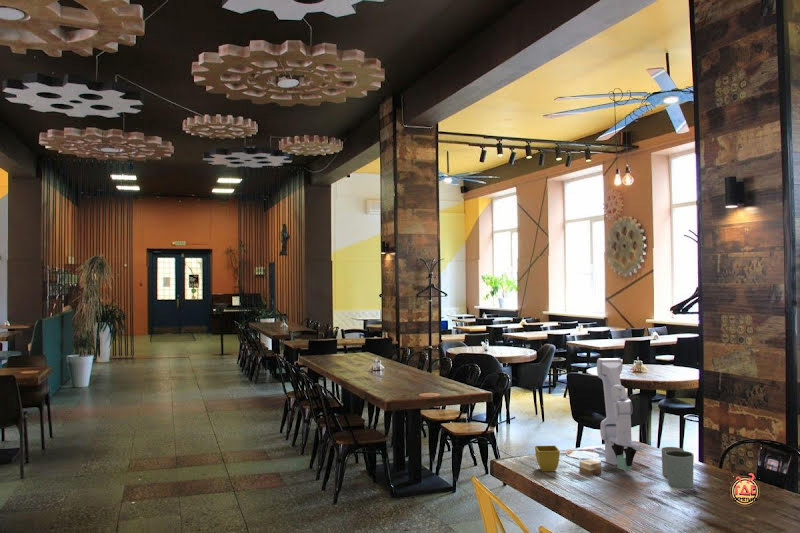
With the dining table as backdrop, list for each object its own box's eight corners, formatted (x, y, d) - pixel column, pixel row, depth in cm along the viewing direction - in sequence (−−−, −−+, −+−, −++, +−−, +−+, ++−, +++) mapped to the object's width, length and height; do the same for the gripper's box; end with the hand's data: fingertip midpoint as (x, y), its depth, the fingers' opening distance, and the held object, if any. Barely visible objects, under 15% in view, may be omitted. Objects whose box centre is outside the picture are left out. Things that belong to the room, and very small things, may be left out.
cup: (681, 471, 266) (680, 446, 266) (688, 478, 258) (687, 452, 258) (659, 471, 267) (658, 446, 267) (665, 477, 258) (664, 452, 259)
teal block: (624, 466, 267) (624, 453, 267) (632, 468, 264) (631, 456, 264) (617, 467, 265) (617, 455, 265) (625, 470, 262) (624, 457, 262)
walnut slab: (590, 470, 273) (590, 464, 273) (601, 473, 267) (600, 468, 268) (579, 472, 270) (579, 467, 270) (590, 476, 265) (590, 470, 265)
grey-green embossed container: (697, 490, 243) (696, 457, 243) (668, 489, 245) (667, 456, 245) (691, 481, 253) (690, 450, 253) (663, 480, 255) (662, 449, 255)
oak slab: (590, 464, 273) (590, 459, 273) (601, 468, 268) (601, 462, 268) (579, 467, 270) (579, 461, 270) (590, 470, 265) (590, 464, 265)
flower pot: (560, 472, 269) (560, 450, 269) (539, 473, 269) (538, 451, 269) (556, 466, 278) (555, 445, 278) (535, 467, 278) (534, 445, 278)
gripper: (602, 428, 269) (603, 461, 269) (631, 435, 256) (632, 470, 256) (615, 425, 273) (616, 458, 272) (643, 432, 260) (644, 467, 260)
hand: (624, 464), depth 265 cm, fingers closed on teal block, 4 cm apart
